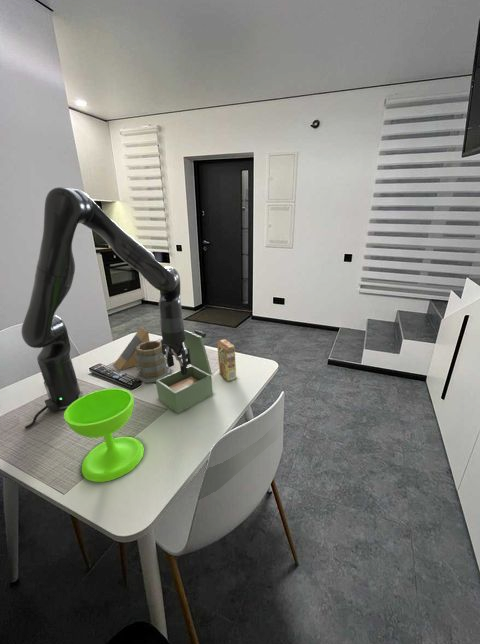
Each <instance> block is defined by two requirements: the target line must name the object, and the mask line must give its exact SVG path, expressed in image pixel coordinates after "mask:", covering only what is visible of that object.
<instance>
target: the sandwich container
mask: <svg viewBox="0 0 480 644" xmlns="http://www.w3.org/2000/svg"><path fill="white" fill-rule="evenodd" d="M149 334H150V333H149V331H148V330H146V329H145V328H144V327H142V326H140V327H139V329H138V330H137V332H136V333H135V334H134V336H133V338H132V339H131V340H130V342H129V343H128V344H127V345H126V347H125V349H124V350H123V351H122V353H121V354H120V355H119V356H118V357H117V359H116V361H115V362H114V363H113V365H114V367H115V368H116V369H117V370H118V371H122V370H126V369H130V368H132V367H137V365H138V360H136V357H135V354H136V347H137V345H139V344H141V343H144V342H147V341H151V340H150V335H149Z"/></svg>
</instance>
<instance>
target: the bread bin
mask: <svg viewBox="0 0 480 644" xmlns="http://www.w3.org/2000/svg"><path fill="white" fill-rule="evenodd" d="M187 370H188V373H187V374H185V375H182V374H181V369H179V370H177V371H175V372H172V373H169V375H167V376H165V377H163V378H160V379H158V380H156V382H155V384H156V391H157V397H158V401H160V402H161V403H162V404H164V405H165V406H167V407H168V408H169V409H171V410H172V411H173V412H175V413H176V414H180V413H182V412H184V411H185V410H187V409H189V408H191V407H193V406H194V405H196V404H198V403H200V402H202V401H204V400H205V399H207V398H209V397H210V396H213V395H214V391H213V381H212V380H213V379H212V374H211V375H209V374H207V373H206V372H204V371H202V370H200V369H198V368H196V367H194V366H192V365H191V364H190V365H189V366H188V365H187ZM189 377H193V378H195V379H196V380H198V381H197V382H195V383H192V384H190V385H188V386H186V387H184V388H182V389H180V390H178V391H174V390H172V389H171V388H169V386H172V385H174V384H176V383H178V382H180V381H182V380H184V379H187V378H189Z"/></svg>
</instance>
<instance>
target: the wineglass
mask: <svg viewBox="0 0 480 644" xmlns="http://www.w3.org/2000/svg"><path fill="white" fill-rule="evenodd" d="M134 406H135V399H134V394H133V393H132V392H131V391H130V390H128V389H124V388H120V387H110V388H104V389H99V390H95V391H92V392H89V393H86V394H85V395H82V397H80V398H79V399H77V400H76V401H74V402H73V403H72V404H70V405H69V406H68V407H67V409H65V410H64V413H63V418H64V420H65V422H66V424H67V426H68V428H69V429H71V430H72V431H73V432H74V433H76V434H77V435H79V436H83V437H85V438H91V439H93V438H95V439H96V438H102V437H104V441H103V442H102V443H100V444H98V445H96V446H94V448H93V449H91V450H90V452H88V454H86V456H85V457H84V459H83V460H82V461H83V462H82V463H81V474H82V476H83V478H85V479H86V480H87V481H90V482H94V483H105V482H109V481H113V480H116V479H119V478H121V477H123V476H124V475H126V474H128V473H129V472H131V471H132V470H133V469H135V468H136V467H137V466H138V465H139V463H140V462H141V461H142V459H143V457H144V454H145V453H144V452H145V448H144V445H143V443H142V442H141V440H139V439H137V438H135V437H131V436H119V437H113V434H114V433H116V432H117V431H119V430H120V429H121V428H123V427H124V426H125V425H126V423H127V422H128V421H129V419H130V418H131V416H132V414H133V410H134Z"/></svg>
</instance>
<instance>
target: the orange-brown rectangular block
mask: <svg viewBox="0 0 480 644" xmlns="http://www.w3.org/2000/svg"><path fill="white" fill-rule="evenodd" d="M197 381H198V380H196V379H195V378H193V377H189V378H187V379H184V380H182V381H180V382H178V383H176V384H174V385H172V386H169V388H171V389H172V390H174V391H178V390H180V389H182V388H184V387H186V386H188V385H190V384H192V383H195V382H197Z"/></svg>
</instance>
